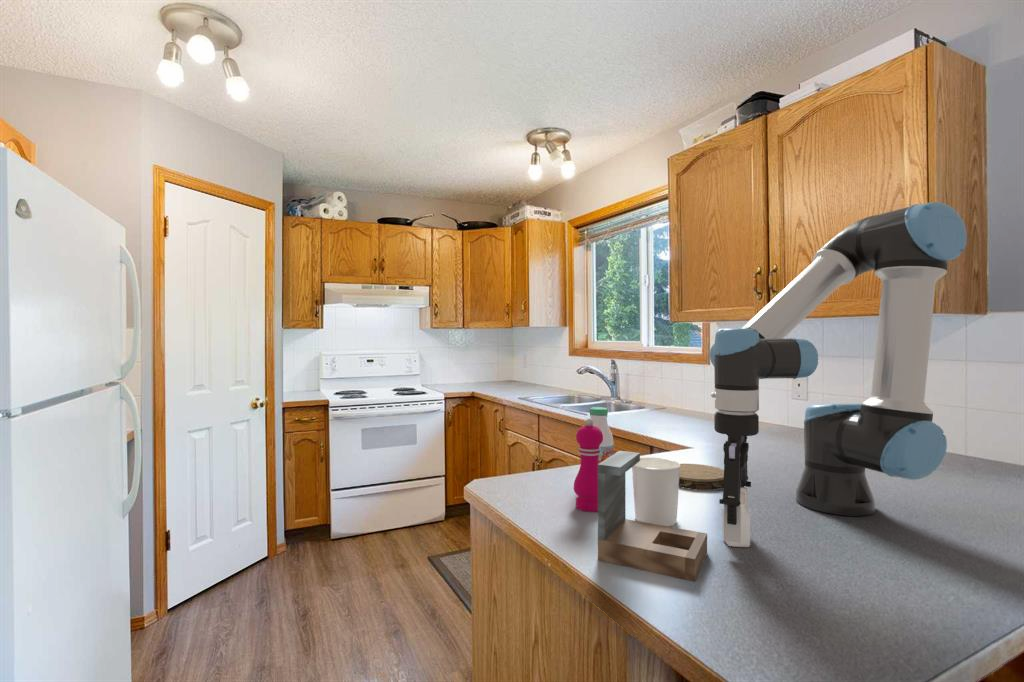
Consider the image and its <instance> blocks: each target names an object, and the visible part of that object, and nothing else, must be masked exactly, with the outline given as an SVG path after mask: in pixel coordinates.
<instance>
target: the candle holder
mask: <svg viewBox="0 0 1024 682" xmlns="http://www.w3.org/2000/svg"><path fill="white" fill-rule="evenodd" d="M680 464H681V463H679V462H678V461H676V460H673V459H670V458H664V457H663V458H662V457H640V461H639V462H638V463H637V464H635V465H634V466H633V467H631V469H632V485H633V489H632V490H633V504H634V515H635V516H634V519H635V521H639V522H645V523H651V524H656V525H662V526H669V527H672V526H674V525H675V524H676V523H677V518H678V509H679V508H678V506H679V490H680V487H679V475H680Z"/></svg>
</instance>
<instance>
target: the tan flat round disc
mask: <svg viewBox="0 0 1024 682" xmlns="http://www.w3.org/2000/svg"><path fill="white" fill-rule="evenodd" d="M679 464H680V475H679V486H680V487H679V488H681V487H684V488H683V489H686V488H690V489H689V490H694V489H697V490H696V491H715V490H714V489H717V490H720V489H721V488H722V489H723V483H724V469H721V468H720V467H716V466H713V465H707V464H697V463H679Z"/></svg>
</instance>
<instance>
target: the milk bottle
mask: <svg viewBox="0 0 1024 682" xmlns="http://www.w3.org/2000/svg"><path fill="white" fill-rule="evenodd" d="M608 411H609V410H608V408H607V407H602V406H594V407H590V408H589V417H590V419H592V420H593V422H594V423H593V426H596V427H598V428H599V429H600V430H601V431H602V434H603V441H602V443H601V444H600V446H599V447H600V448H601V450H600V452H601V454H600V455H599V459H598V461H599V463H601V462H602V461H604V460H605V459H607V458H609V457H610V456H612V455H613V454H615V443H614V438H613V437H614V436H613V433H612V431H611V428H610V427H609V424H608V420H607V419H608V414H609V412H608Z"/></svg>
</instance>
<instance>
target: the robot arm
mask: <svg viewBox="0 0 1024 682" xmlns="http://www.w3.org/2000/svg"><path fill="white" fill-rule="evenodd" d="M967 235H968V234H967V229H966V225H965V223H964V220H963V219H962V217H961V216H960V215H959V213H958V212H957V211H956V209H954V208H953V207H951V206H950V205H948V204H946V203H943V202H938V201H930V202H926V203H921V204H919V203H918V204H917V203H915V204H912V205H910V206H907V207H903V208H899V209H896V210H895V209H894V210H891V211H886V212H883V213H880V214H875V215H870V216H866V217H864V218H861V219H859V220H857V221H855V222H853V223H852V224H850V225H849V226H847V227H846V228H844V229H842V230H841V231H840V232H839V233H837V234H835V235H834V236H833V237H831V239H830V240H829V241H827V243H825V244H824V245H823V246H822V247H821V248H819V250H817V252H816V253H814V255H813V257H812V262H811V263H810V264H809V265H808V266H807V267H806V268H805V269H804V270H803V271H802V272H800V273H799V274H798V276H796V277H795V278H794V279H793V280H792V281H791V282H789V284H787V285H786V287H785V288H783V289H782V290H781V291H780V292H779V293H777V295H776V296H775V297H774V298H772V299H771V300H770V301H769V302H768V303H767V304H766V305H765V306H764V307H763V308H761V310H760V311H759V312H758V313H756V314H755V315H754V316H753V317H752V318H751V319H750V320H749V321H747V323H746V324H744V325H743V326H742V327H741V328H719V330H717V331H716V333H715V336H714V342H713V344H712V345H711V348H710V350H709V361H710V363H711V364H712V366H713V367H714V392H711V394H710V396H711V397H712V398H715V399H714V409H716V410H717V411H715V413H713V414H714V415H713V416H714V418H713V419H714V423H713V424H714V431H715V432H716V433H718V434H721V435H726V436H727V440H725V442H724V443H723V446H722V447H723V450H722V451H723V453H724V455H723V466H724V467H723V470H724V483H723V488H722V499H719V500H718V501H719V502H718V503H719V505H723V508H724V539H723V541H724V540H725V541H730V542H736V543H741V505H740V503H741V502H740V491H742V492H744V493H745V503H746V504H745V509H746V510H747V511H748V488H751V487H752V481H748V480H749V476H748V460H749V455H748V454H749V448H750V447H749V444H750V443H749V442H748V441H747V440H748V437H752V436H757V435H758V434H759V429H760V425H759V423H760V422H759V421H760V419H759V417H760V416H759V415H758V414H757V413H756V412H758V411H759V410H760V386H759V385H760V380H765V379H766V380H767V379H770V380H771V379H772V380H773V379H793V380H796V379H801V378H807V377H809V376H811V375H813V374H814V372H816V370H817V368H818V365H819V353H818V350H817V348H816V346H815V345H814V344H813V343H812V342H811V341H809V339H804V338H796V337H793V338H791V337H790V338H785V337H786V336H788V335H789V334H790V333H791V332H792V331H793V330H794V329H795V328H797V326H798V325H799V324H801V323H802V322H803V321H804V320H805V319H806V318H807V317H808V316H809V315H810V314H811V313H812V312H813V311H814V310H816V308H818V307H819V306H820V305H821V304H822V303H823V302H824V301H825V300H826V299H827V298H829V296H831V294H833V293H834V292H835V291H836V290H837V289H838V288H839V287H840V286H841V285H848V284H850V283H852V281H853V280H855V278H857V277H859V276H860V275H863V274H864V273H868V272H871V271H874V275H875V276H876V277H878V279H880V281H881V292H880V302H879V303H880V304H879V313H878V323H877V331H876V344H875V353H874V363H873V371H872V372H873V373H872V386H871V392H870V396H869V398H867V399H865V400H864V401H862V402H861V403H820V404H819V403H815V404H810V405H808V406H807V407H806V408H805V410H804V411H805V412H804V414H805V415H804V421H803V424H804V425H803V426H804V427H803V433H804V434H803V436H804V469H803V472H802V473H801V477H800V478H799V482H798V483H797V487H796V490H795V500H796V502H797V503H798V504H799V505H801V506H804V507H806V508H809V509H811V510H813V511H814V510H815V511H817V512H821V513H826V514H832V515H838V516H849V517H850V516H851V517H862V516H868V515H873V514H874V513H875V511H876V508H875V507H876V502H875V498H874V496H873V493H872V490H871V487H870V484H869V482H868V479H867V476H866V469H867V470H871V471H875V472H879V473H882V474H885V475H887V476H889V477H892V478H893V477H895V478H899V479H900V478H902V479H906V480H911V481H912V480H914V481H915V480H916V481H917V480H921V479H924V478H927V477H928V476H930V475H931V474H932V473H933V472H934V471H936V470H937V469H938V468H939V467H940V466H941V464H942V463H943V460H944V459H945V456H946V453H947V448H948V447H947V446H948V445H947V444H948V443H947V442H948V441H947V437H946V435H945V433H944V430H943V428H942V427H940V425H938V424H936V423H934V422H933V417H934V411H932V410H931V408H929V406H927V405H926V403H925V398H926V397H925V395H926V388H927V387H926V385H927V377H928V375H927V374H928V367H929V357H930V356H929V355H930V345H931V344H930V343H931V334H932V325H933V313H934V304H935V303H934V302H935V295H936V294H935V293H936V284H937V281H939V280H940V279H941V278H943V276H945V275H947V273H948V264H949V262H950V261H952V260H954V259H957V258H958V257H960V255H961V254H962V253H963V252H964V251H965V248H966V246H967V240H968V239H967V238H968V236H967ZM728 496H731V497H735V498H731V497H728ZM725 541H724V542H725Z"/></svg>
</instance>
